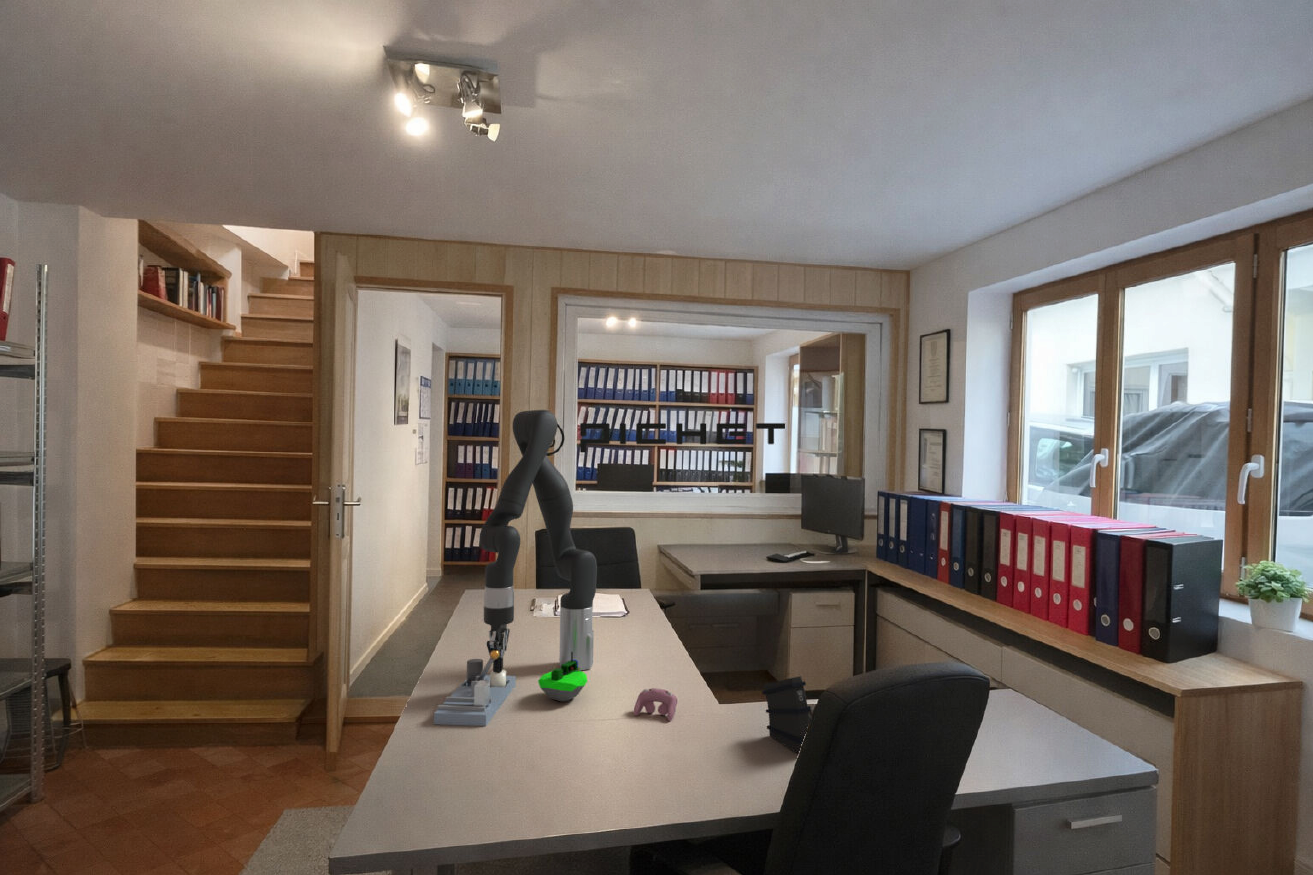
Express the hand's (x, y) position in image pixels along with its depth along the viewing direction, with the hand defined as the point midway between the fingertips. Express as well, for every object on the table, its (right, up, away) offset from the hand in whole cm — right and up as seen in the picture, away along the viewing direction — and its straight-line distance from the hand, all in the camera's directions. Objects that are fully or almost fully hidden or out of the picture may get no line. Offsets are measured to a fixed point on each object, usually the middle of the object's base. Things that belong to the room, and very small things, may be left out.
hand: (498, 671), depth 180 cm
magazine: (+69, -7, -26) cm, 74 cm away
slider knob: (0, -3, -15) cm, 15 cm away
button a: (0, -5, 0) cm, 5 cm away
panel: (-3, -6, -7) cm, 9 cm away
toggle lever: (-3, -1, -7) cm, 8 cm away
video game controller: (+40, -7, -12) cm, 42 cm away
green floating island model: (+17, -6, -3) cm, 18 cm away
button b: (-6, -3, 0) cm, 7 cm away
